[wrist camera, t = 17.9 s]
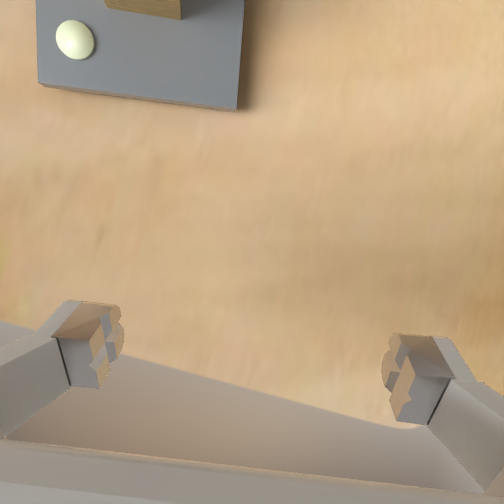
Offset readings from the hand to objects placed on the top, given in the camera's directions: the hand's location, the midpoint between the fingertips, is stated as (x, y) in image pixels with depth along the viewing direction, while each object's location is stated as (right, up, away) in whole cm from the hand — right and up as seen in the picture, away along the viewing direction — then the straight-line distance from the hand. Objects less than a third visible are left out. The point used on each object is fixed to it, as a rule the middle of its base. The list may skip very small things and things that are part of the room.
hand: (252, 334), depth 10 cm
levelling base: (-8, +22, +15) cm, 28 cm away
